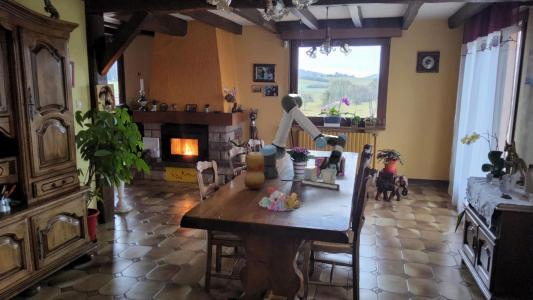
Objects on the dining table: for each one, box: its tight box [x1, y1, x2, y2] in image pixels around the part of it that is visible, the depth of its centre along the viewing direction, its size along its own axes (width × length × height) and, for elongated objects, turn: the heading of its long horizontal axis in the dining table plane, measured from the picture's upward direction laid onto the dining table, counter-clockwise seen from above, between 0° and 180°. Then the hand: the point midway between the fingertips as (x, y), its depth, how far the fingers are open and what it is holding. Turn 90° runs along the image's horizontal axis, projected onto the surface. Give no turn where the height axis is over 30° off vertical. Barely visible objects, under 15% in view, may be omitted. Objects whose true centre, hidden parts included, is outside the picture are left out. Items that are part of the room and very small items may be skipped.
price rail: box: [300, 178, 341, 192], centre depth 257 cm, size 28×2×4 cm, turn 58°
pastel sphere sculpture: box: [258, 186, 302, 212], centre depth 218 cm, size 25×24×9 cm
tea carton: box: [321, 168, 336, 184], centre depth 260 cm, size 8×6×12 cm
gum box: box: [314, 156, 346, 176], centre depth 297 cm, size 24×8×14 cm, turn 93°
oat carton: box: [303, 165, 318, 181], centre depth 267 cm, size 8×6×12 cm
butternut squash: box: [243, 151, 265, 190], centre depth 250 cm, size 14×13×25 cm
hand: (327, 179), depth 257 cm, fingers open, 9 cm apart
